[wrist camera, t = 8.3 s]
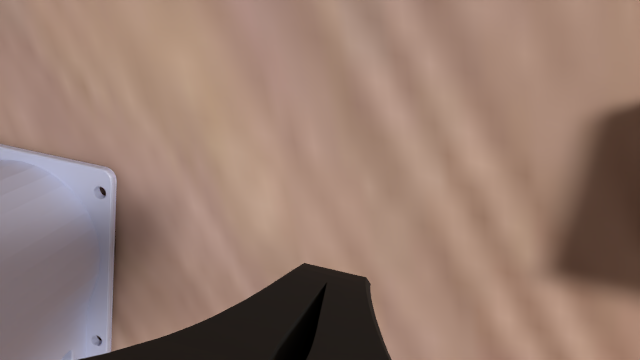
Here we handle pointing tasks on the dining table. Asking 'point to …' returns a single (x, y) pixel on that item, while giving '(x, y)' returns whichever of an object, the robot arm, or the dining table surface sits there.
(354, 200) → the dining table surface
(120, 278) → the dining table surface
